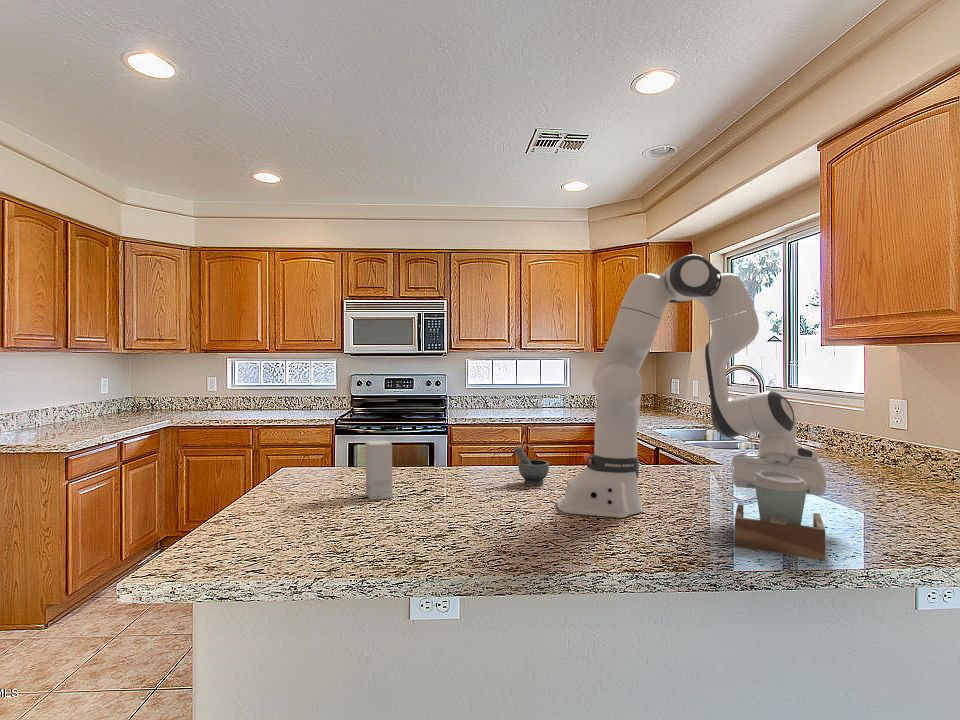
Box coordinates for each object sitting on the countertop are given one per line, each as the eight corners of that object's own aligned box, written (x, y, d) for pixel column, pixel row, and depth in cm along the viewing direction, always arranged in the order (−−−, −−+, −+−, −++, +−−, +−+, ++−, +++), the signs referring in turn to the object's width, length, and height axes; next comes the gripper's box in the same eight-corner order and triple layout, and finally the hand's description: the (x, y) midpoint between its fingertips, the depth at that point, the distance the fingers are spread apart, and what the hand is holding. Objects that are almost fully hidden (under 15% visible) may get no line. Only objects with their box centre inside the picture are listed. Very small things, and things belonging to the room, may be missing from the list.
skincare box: (392, 498, 154) (393, 443, 154) (369, 501, 152) (369, 444, 151) (386, 492, 162) (387, 439, 162) (364, 494, 159) (364, 440, 159)
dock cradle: (737, 529, 128) (737, 498, 128) (819, 540, 121) (819, 508, 121) (734, 546, 117) (734, 512, 117) (824, 559, 109) (825, 524, 109)
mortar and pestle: (546, 480, 179) (547, 444, 179) (551, 487, 169) (551, 448, 169) (512, 480, 178) (512, 444, 178) (515, 487, 169) (515, 448, 169)
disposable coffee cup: (813, 542, 120) (813, 474, 120) (801, 555, 112) (802, 482, 112) (760, 532, 127) (761, 467, 127) (745, 543, 119) (746, 474, 119)
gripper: (732, 446, 142) (729, 491, 133) (825, 453, 132) (828, 502, 124) (733, 460, 146) (730, 505, 137) (823, 468, 136) (826, 517, 128)
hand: (777, 504), depth 130 cm, fingers closed
